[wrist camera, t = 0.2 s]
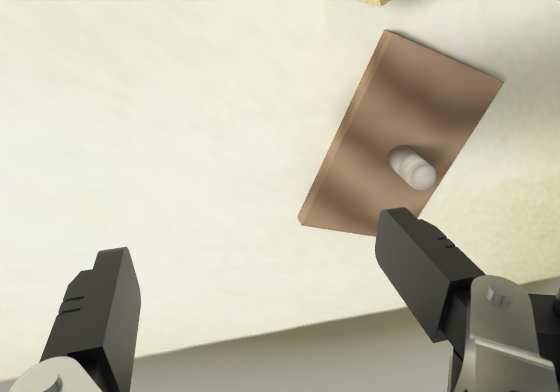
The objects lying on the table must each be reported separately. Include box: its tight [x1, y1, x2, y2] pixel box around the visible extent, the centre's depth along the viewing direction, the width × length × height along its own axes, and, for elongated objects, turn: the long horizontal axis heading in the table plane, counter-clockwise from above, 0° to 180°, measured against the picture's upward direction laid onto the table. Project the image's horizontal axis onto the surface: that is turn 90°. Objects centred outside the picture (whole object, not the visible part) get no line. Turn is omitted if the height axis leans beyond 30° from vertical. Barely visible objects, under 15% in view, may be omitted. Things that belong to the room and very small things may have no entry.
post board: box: [298, 30, 504, 237], centre depth 37 cm, size 20×14×7 cm
